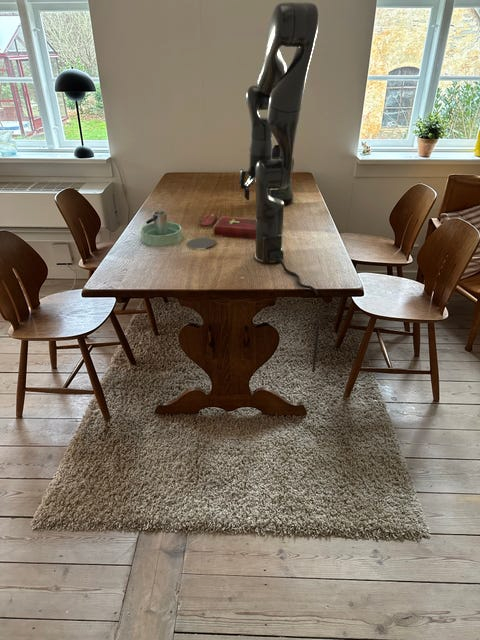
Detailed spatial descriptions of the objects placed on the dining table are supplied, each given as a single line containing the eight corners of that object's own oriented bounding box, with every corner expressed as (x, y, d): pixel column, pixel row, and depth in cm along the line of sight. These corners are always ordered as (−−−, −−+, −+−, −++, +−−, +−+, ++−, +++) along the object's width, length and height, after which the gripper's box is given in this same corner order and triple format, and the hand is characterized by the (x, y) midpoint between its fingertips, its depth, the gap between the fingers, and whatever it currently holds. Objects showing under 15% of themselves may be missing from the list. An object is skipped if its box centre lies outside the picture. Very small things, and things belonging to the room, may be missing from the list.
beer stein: (256, 205, 209) (256, 149, 196) (261, 193, 226) (262, 140, 213) (291, 207, 207) (295, 150, 194) (295, 195, 223) (298, 141, 210)
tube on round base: (160, 235, 177) (157, 210, 171) (171, 237, 175) (168, 211, 170) (143, 245, 168) (140, 219, 163) (155, 247, 166) (152, 220, 161)
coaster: (216, 248, 167) (216, 246, 167) (189, 250, 165) (189, 249, 165) (212, 238, 175) (212, 236, 175) (186, 240, 173) (186, 239, 173)
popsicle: (218, 212, 196) (210, 224, 184) (218, 216, 197) (210, 228, 185) (208, 211, 197) (199, 223, 185) (208, 215, 198) (199, 227, 186)
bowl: (184, 245, 169) (183, 234, 167) (142, 249, 166) (141, 237, 164) (180, 231, 182) (179, 220, 180) (141, 234, 179) (139, 223, 177)
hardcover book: (266, 240, 173) (266, 230, 171) (213, 235, 177) (213, 225, 175) (272, 229, 183) (272, 219, 181) (222, 225, 187) (221, 215, 185)
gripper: (242, 156, 147) (242, 204, 157) (284, 153, 150) (281, 201, 159) (237, 149, 153) (237, 196, 163) (278, 147, 156) (275, 193, 165)
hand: (259, 198), depth 161 cm, fingers open, 8 cm apart
